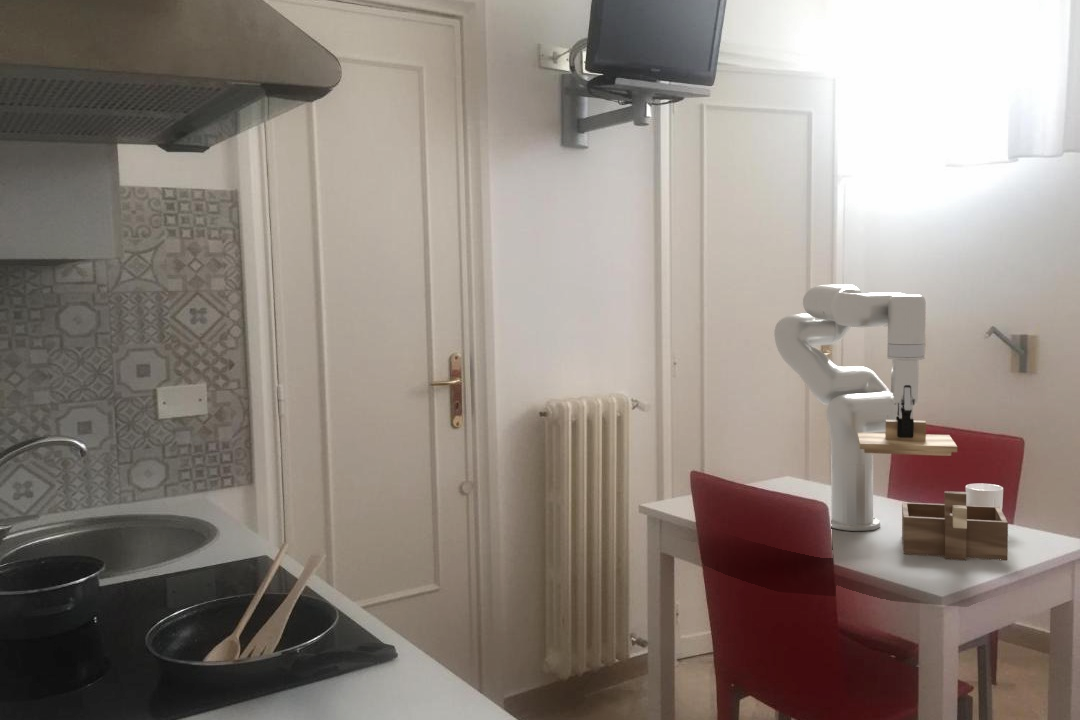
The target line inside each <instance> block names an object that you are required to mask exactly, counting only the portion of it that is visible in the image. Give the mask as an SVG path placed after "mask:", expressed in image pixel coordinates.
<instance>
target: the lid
mask: <svg viewBox="0 0 1080 720" xmlns="http://www.w3.org/2000/svg"><path fill="white" fill-rule="evenodd" d="M897 423H898V420H886V430H885V431H884V432H885V433H883V432H872V433H859V432H858V442H859V448H860V449H864V453H873V454H885V455H886V454H887V455H915V456H939V457H940V456H942V457H947V456H949V457H951V456H952V453H958V446H957V444H956V442H955V441H954V439H953V438H952V437H951V435H950V434H929V433H928V434H927V421H926V420H915V419H914V429H913V438H900V437H898V436H897Z"/></svg>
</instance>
